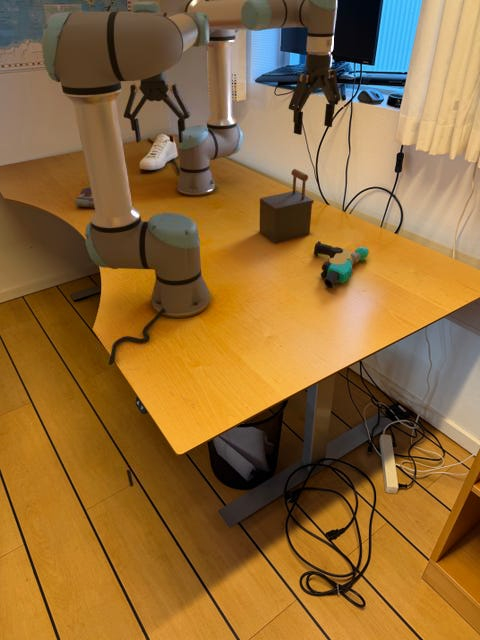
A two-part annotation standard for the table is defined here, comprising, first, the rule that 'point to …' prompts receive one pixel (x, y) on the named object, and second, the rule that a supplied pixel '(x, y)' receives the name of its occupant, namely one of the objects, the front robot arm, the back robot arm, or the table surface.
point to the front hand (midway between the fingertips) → (159, 141)
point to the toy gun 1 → (85, 198)
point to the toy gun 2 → (338, 262)
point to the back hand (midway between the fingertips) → (313, 130)
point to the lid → (289, 196)
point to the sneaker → (160, 153)
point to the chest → (285, 222)
